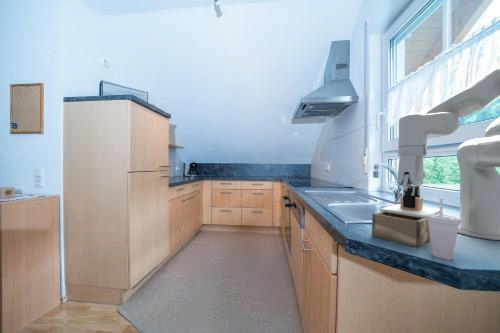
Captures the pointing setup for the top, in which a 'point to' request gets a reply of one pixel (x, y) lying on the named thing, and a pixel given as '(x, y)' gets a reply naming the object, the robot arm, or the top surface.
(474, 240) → the top surface
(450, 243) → the smoothie
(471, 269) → the top surface
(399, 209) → the lid
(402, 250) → the top surface
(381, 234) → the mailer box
